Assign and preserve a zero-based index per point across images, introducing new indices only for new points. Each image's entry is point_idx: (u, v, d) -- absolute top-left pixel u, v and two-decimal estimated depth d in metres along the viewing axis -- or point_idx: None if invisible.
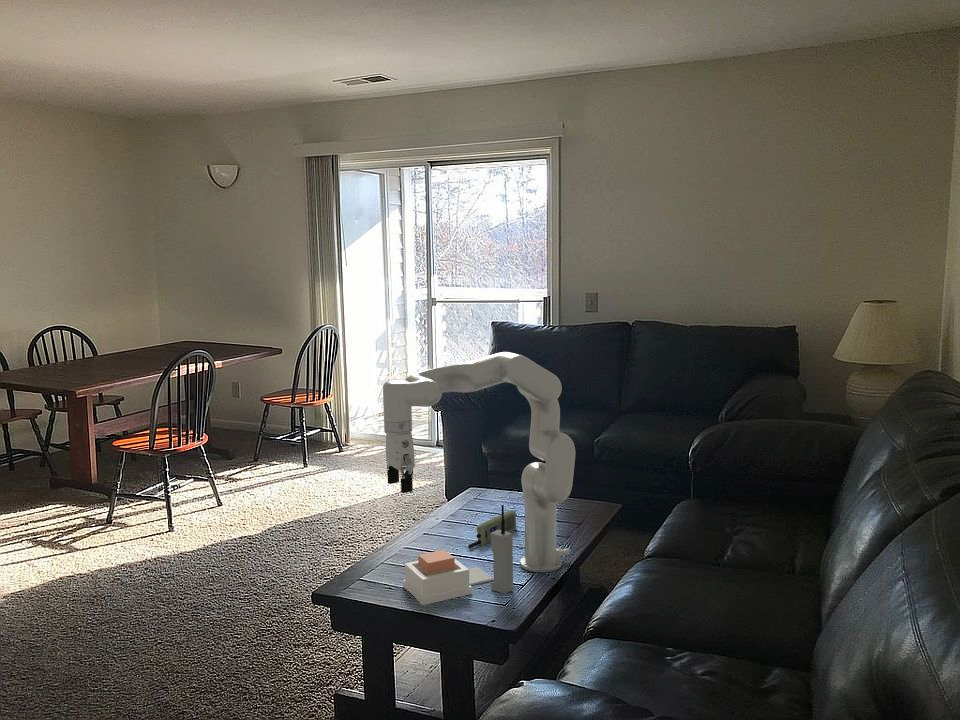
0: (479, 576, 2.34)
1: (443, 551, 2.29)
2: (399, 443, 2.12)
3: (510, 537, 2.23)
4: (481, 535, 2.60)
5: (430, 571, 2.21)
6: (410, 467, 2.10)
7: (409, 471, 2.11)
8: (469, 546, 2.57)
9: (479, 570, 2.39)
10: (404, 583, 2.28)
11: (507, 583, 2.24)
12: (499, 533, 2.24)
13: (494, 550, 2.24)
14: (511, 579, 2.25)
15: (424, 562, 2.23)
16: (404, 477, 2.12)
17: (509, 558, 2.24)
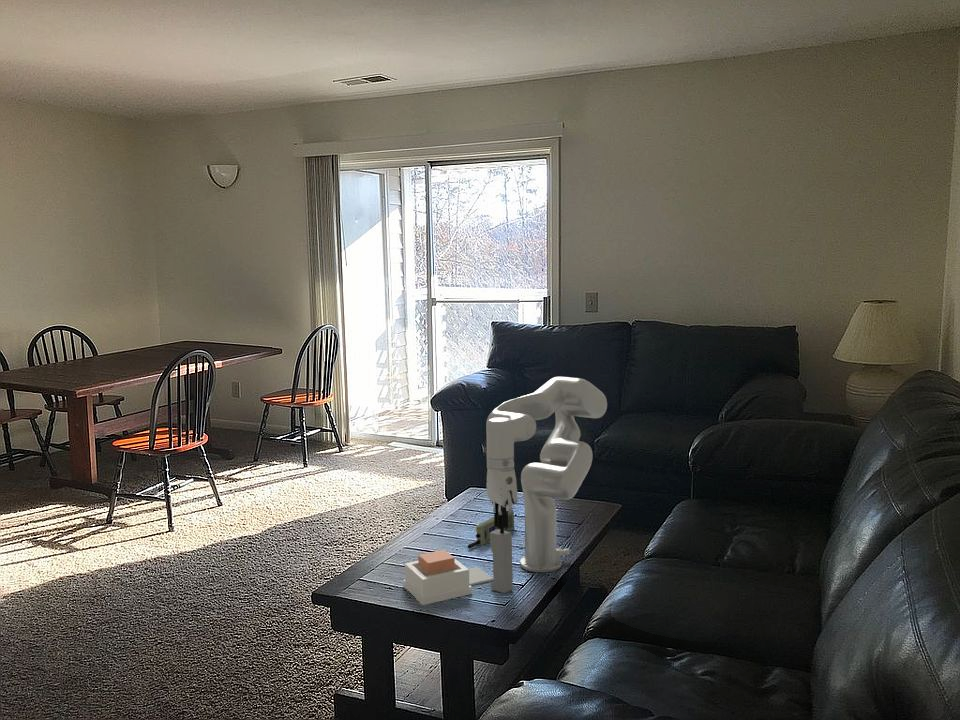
0: (479, 576, 2.34)
1: (443, 551, 2.29)
2: (503, 480, 2.17)
3: (509, 536, 2.24)
4: (480, 535, 2.60)
5: (430, 571, 2.21)
6: (509, 510, 2.18)
7: (506, 510, 2.19)
8: (469, 546, 2.57)
9: (479, 570, 2.39)
10: (404, 583, 2.28)
11: (507, 583, 2.24)
12: (498, 532, 2.24)
13: (493, 549, 2.24)
14: (511, 578, 2.25)
15: (424, 562, 2.23)
16: (500, 514, 2.21)
17: (509, 557, 2.24)
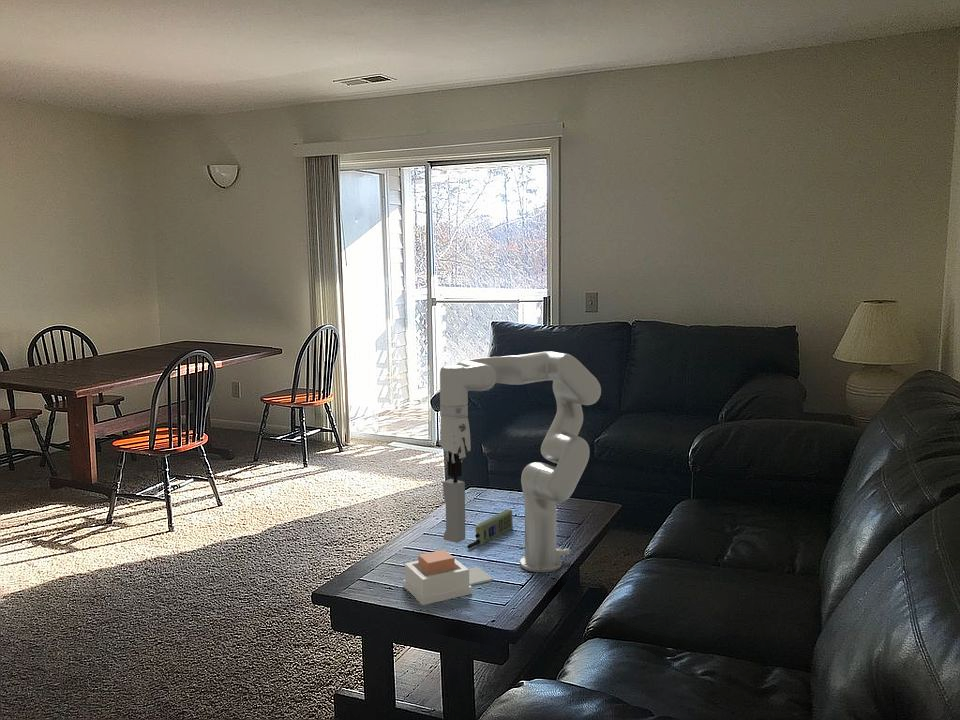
0: (479, 576, 2.34)
1: (443, 551, 2.29)
2: (456, 427, 2.15)
3: (462, 485, 2.22)
4: (480, 535, 2.61)
5: (430, 571, 2.21)
6: (462, 458, 2.16)
7: (459, 458, 2.18)
8: (468, 546, 2.57)
9: (479, 570, 2.39)
10: (404, 583, 2.28)
11: (459, 532, 2.22)
12: (451, 482, 2.22)
13: (446, 499, 2.22)
14: (463, 528, 2.24)
15: (424, 562, 2.23)
16: (454, 463, 2.19)
17: (462, 507, 2.22)
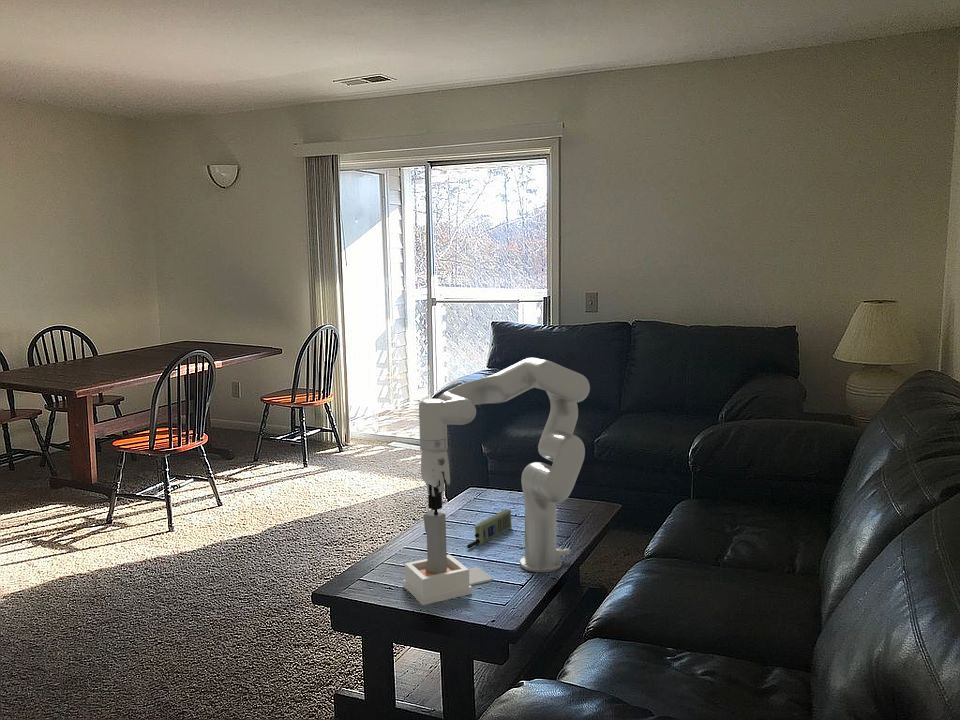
0: (479, 576, 2.34)
1: None
2: (435, 461, 2.17)
3: (443, 517, 2.24)
4: (479, 535, 2.61)
5: None
6: (441, 491, 2.18)
7: (439, 492, 2.19)
8: (468, 546, 2.57)
9: (479, 570, 2.39)
10: (404, 583, 2.28)
11: (441, 564, 2.24)
12: (432, 514, 2.24)
13: (427, 531, 2.24)
14: (445, 560, 2.26)
15: None
16: (434, 496, 2.21)
17: (443, 539, 2.24)
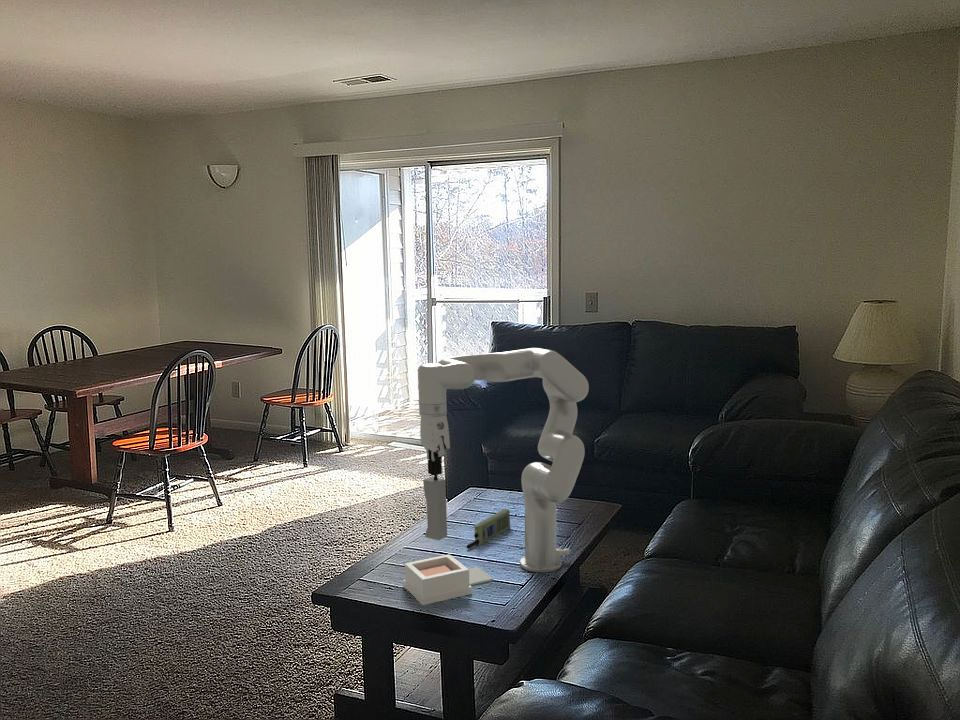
0: (479, 576, 2.34)
1: (443, 567, 2.30)
2: (434, 425, 2.16)
3: (443, 483, 2.22)
4: (479, 535, 2.61)
5: None
6: (441, 456, 2.17)
7: (439, 456, 2.18)
8: (468, 546, 2.57)
9: (479, 570, 2.39)
10: (404, 583, 2.28)
11: (441, 530, 2.23)
12: (432, 479, 2.23)
13: (427, 497, 2.23)
14: (445, 525, 2.24)
15: None
16: (433, 461, 2.20)
17: (443, 504, 2.23)
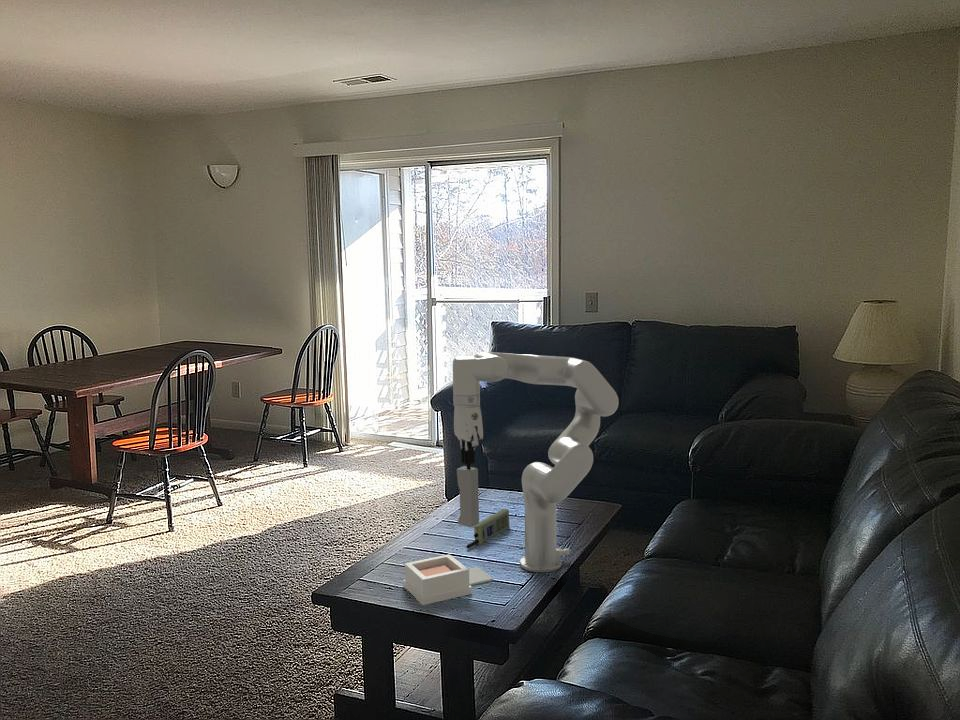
0: (479, 576, 2.34)
1: (443, 567, 2.30)
2: (469, 416, 2.23)
3: (476, 472, 2.30)
4: (478, 534, 2.61)
5: None
6: (475, 445, 2.25)
7: (472, 446, 2.26)
8: (468, 546, 2.57)
9: (479, 570, 2.39)
10: (404, 583, 2.28)
11: (473, 517, 2.31)
12: (465, 468, 2.31)
13: (460, 485, 2.31)
14: (477, 513, 2.32)
15: None
16: (467, 450, 2.28)
17: (475, 492, 2.31)
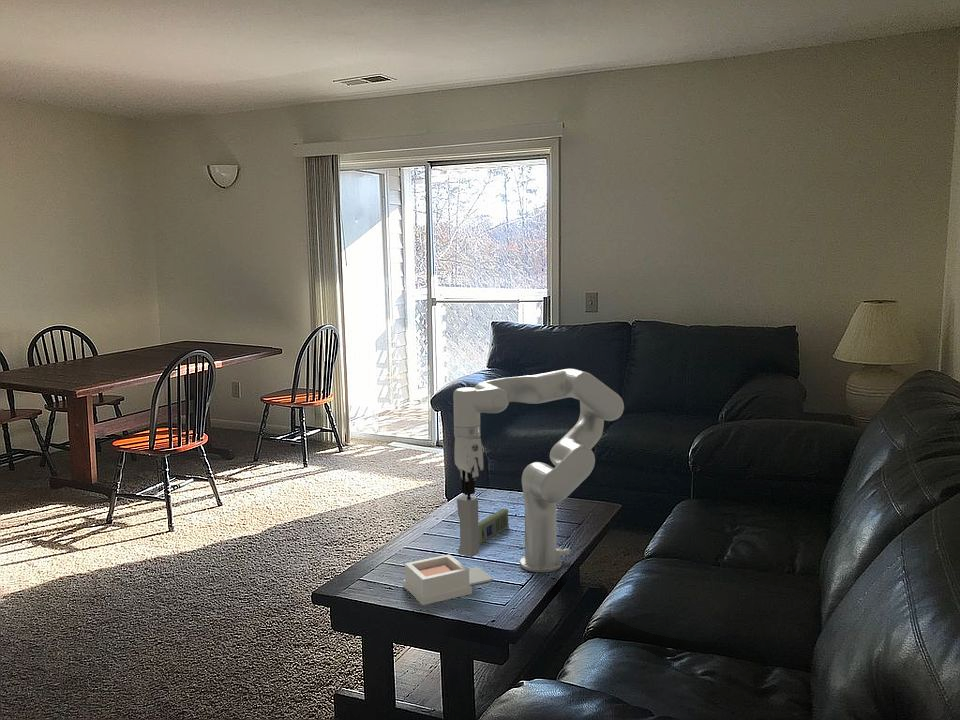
0: (479, 576, 2.34)
1: (443, 567, 2.30)
2: (469, 447, 2.25)
3: (476, 502, 2.32)
4: None
5: None
6: (475, 477, 2.26)
7: None
8: None
9: (479, 570, 2.39)
10: (404, 583, 2.28)
11: (473, 547, 2.32)
12: (465, 499, 2.32)
13: (460, 515, 2.32)
14: (477, 543, 2.33)
15: None
16: (467, 481, 2.29)
17: (475, 523, 2.32)
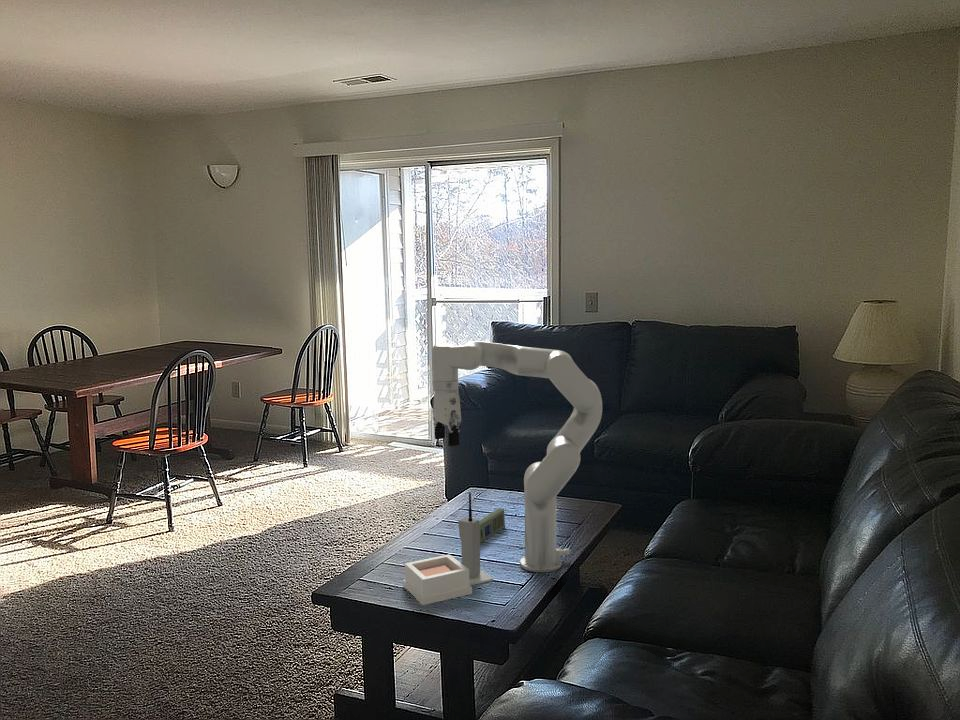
0: (479, 576, 2.34)
1: (443, 567, 2.30)
2: (447, 400, 2.33)
3: (477, 524, 2.33)
4: None
5: None
6: (458, 422, 2.31)
7: (457, 425, 2.32)
8: None
9: None
10: (404, 583, 2.28)
11: (475, 568, 2.33)
12: (467, 520, 2.33)
13: (462, 537, 2.33)
14: (478, 564, 2.34)
15: None
16: (452, 431, 2.33)
17: (476, 544, 2.33)
